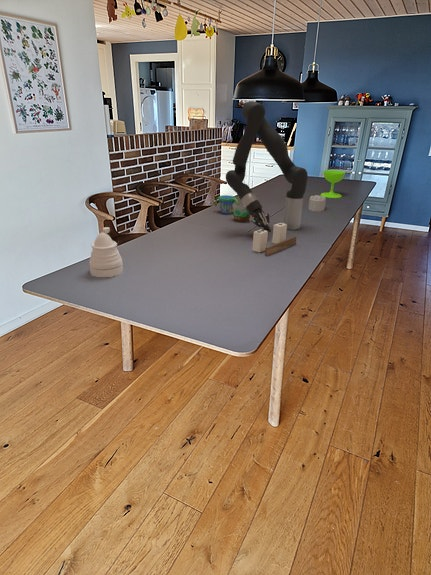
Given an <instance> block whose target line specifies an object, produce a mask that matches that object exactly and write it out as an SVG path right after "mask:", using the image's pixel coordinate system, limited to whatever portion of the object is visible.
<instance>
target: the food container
mask: <svg viewBox="0 0 431 575" xmlns="http://www.w3.org/2000/svg"><path fill="white" fill-rule="evenodd" d="M232 207H233V220H234V221H235V222H237V223H248V222H250V221H251V220H250V218H251V215H249V213H248V212H247V210H246V208H245V207H244V205H243V203H242V204H237V203H235V202H234V203H233V206H232Z"/></svg>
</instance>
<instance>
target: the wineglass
mask: <svg viewBox="0 0 431 575" xmlns="http://www.w3.org/2000/svg"><path fill="white" fill-rule="evenodd" d="M345 174H346V172H345V171H343V170H333V169H329V170H324V171H323V176H324V178H325V180H326V181H328V182H329V183H331V184H330V185H331V186H330V191H329V192H325V191H324V192H322V193H320V196H323V197H325V198H329V199H339V198H342V196H343V195H342V194H340V193H337V192H334V188H335V187H334V186H335V184H336V183H339V182H340V181H342V180H343V178H345Z"/></svg>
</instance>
